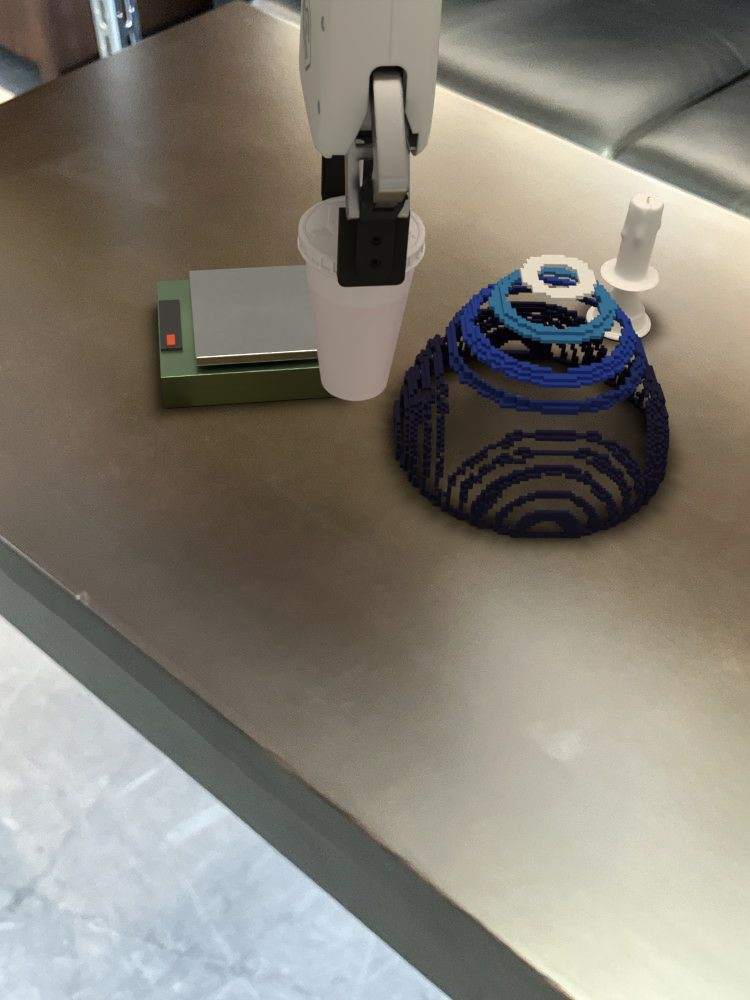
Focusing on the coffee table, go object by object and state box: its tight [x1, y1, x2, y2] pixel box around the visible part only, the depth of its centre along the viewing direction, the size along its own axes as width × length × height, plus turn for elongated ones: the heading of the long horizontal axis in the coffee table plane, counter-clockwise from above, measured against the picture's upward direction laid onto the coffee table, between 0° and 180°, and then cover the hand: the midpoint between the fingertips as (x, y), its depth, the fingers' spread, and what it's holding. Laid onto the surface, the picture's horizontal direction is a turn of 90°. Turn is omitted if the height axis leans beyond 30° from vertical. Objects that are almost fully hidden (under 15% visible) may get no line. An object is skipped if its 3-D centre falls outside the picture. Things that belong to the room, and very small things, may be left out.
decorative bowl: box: [392, 254, 671, 539], centre depth 80 cm, size 20×20×14 cm
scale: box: [156, 279, 336, 409], centre depth 89 cm, size 13×12×3 cm
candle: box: [585, 192, 665, 341], centre depth 91 cm, size 5×5×12 cm
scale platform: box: [188, 264, 318, 366], centre depth 88 cm, size 10×11×1 cm
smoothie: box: [296, 139, 427, 402], centre depth 58 cm, size 6×6×14 cm
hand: (360, 238), depth 57 cm, fingers closed on smoothie, 6 cm apart
